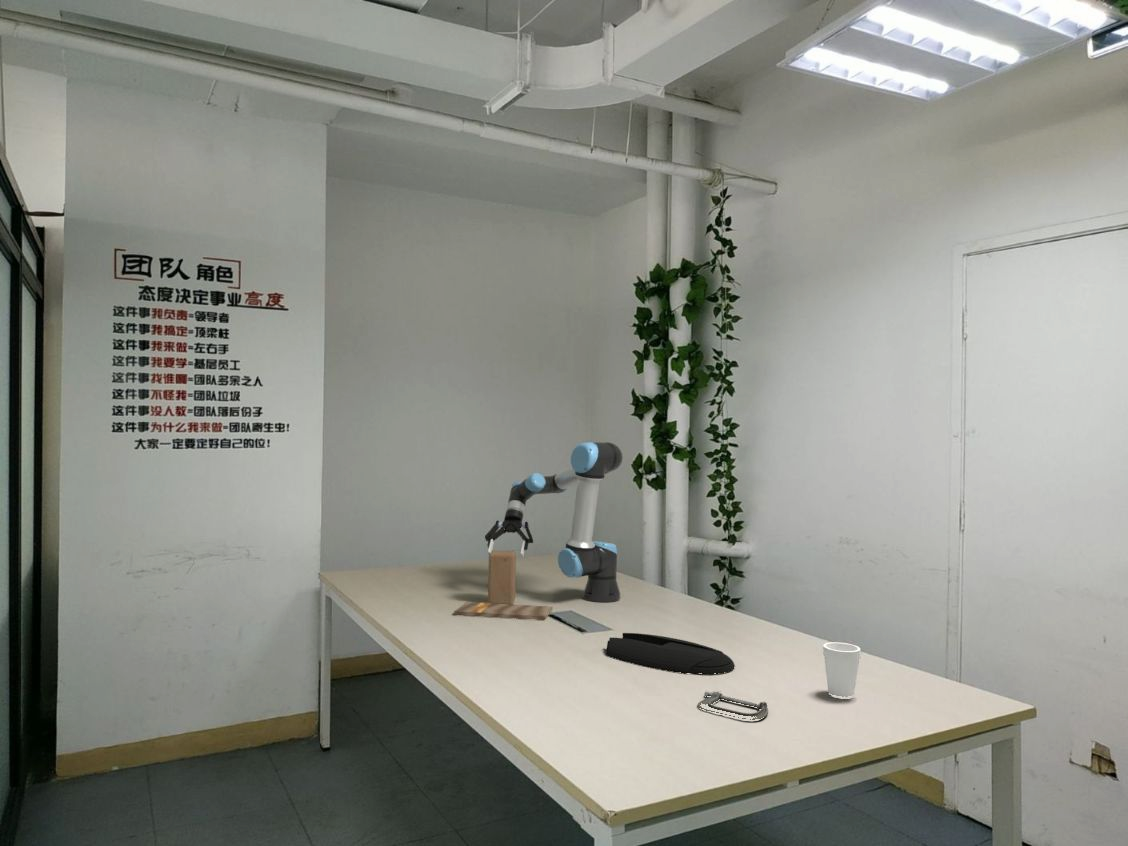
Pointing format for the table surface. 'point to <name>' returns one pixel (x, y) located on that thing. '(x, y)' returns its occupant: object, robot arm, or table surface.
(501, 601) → the wooden block
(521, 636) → the table surface
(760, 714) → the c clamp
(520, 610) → the floor board
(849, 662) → the foam cup
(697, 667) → the black notched oval shell
